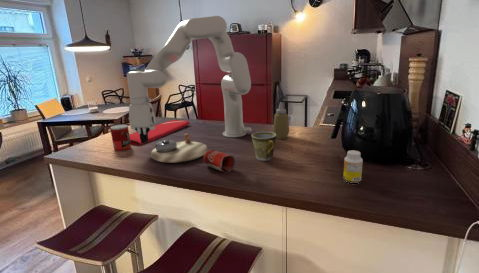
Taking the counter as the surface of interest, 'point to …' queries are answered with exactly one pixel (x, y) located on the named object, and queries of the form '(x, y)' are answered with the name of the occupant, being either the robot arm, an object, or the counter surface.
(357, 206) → the counter surface
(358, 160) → the supplement bottle
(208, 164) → the beverage can
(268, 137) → the ceramic cup
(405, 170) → the counter surface
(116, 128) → the canned food
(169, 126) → the dish drying mat
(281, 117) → the squeeze bottle
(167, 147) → the cover
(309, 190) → the counter surface
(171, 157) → the platter
